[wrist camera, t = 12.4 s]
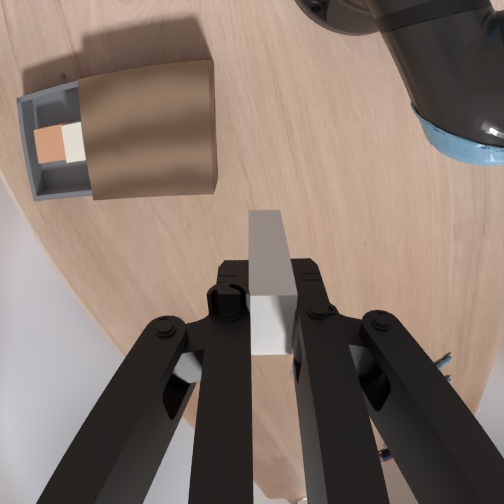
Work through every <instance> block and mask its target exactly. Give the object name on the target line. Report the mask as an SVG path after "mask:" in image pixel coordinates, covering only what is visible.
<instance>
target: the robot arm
mask: <svg viewBox="0 0 504 504" xmlns="http://www.w3.org/2000/svg"><path fill="white" fill-rule="evenodd" d="M295 2H296V3H297V5H298V6H299V8H300V9H301V10H302V11H303V12H304V13H305V14H306V15H307V16H308V17H309V18H310V19H311V20H313V21H314V22H315V23H317V24H318V25H320V26H322V27H324V28H326V29H328V30H330V31H333V32H336V33H340V34H344V35H352V36H360V35H368V34H371V33H375V32H378V31H380V32H381V35H382V37H383V39H384V41H385V43H386V45H387V47H388V49H389V51H390V53H391V55H392V57H393V60H394V62H395V64H396V66H397V68H398V71H399V73H400V75H401V77H402V80H403V82H404V85H405V87H406V89H407V92H408V94H409V97H410V99H411V106H412V109H413V111H414V113H415V114H416V116H417V117H418V118H419V120H420V123H421V125H422V128H423V130H424V133H425V135H426V138H427V139H428V141H429V142H430V143H431V144H432V145H433V146H434V147H435V148H436V149H437V150H438V151H439V152H441V153H442V154H444V155H446V156H448V157H450V158H452V159H455V160H457V161H461V162H464V163H469V164H475V165H486V166H494V165H503V164H504V10H502V11H495V10H494V9H493V7H492V4H491V2H490V0H295ZM217 276H218V277H217V283H216V285H214V286H213V287H211V288H210V289H209V291H208V293H207V301H208V310H209V315H208V316H206V317H205V318H203V319H201V320H199V321H196V322H192V323H187V324H185V322H184V321H183V320H181V319H180V318H178V317H175V316H162V317H158V318H156V319H154V320H152V321H151V322H150V323H149V324H148V325H147V326H146V328H145V329H144V331H143V332H142V334H141V335H140V337H139V338H138V340H137V341H136V342H135V344H134V345H133V347H132V348H131V350H130V351H129V353H128V355H127V356H126V358H125V359H124V361H123V362H122V364H121V365H120V367H119V368H118V370H117V371H116V373H115V374H114V376H113V377H112V379H111V380H110V382H109V384H108V385H107V387H106V388H105V390H104V391H103V393H102V394H101V396H100V398H99V399H98V401H97V402H96V404H95V406H94V407H93V409H92V410H91V412H90V413H89V415H88V417H87V418H86V420H85V422H84V423H83V425H82V426H81V428H80V430H79V431H78V433H77V435H76V436H75V438H74V440H73V441H72V443H71V444H70V446H69V448H68V449H67V451H66V453H65V454H64V456H63V458H62V460H61V461H60V463H59V465H58V466H57V468H56V470H55V471H54V473H53V475H52V477H51V478H50V480H49V482H48V483H47V485H46V487H45V489H44V491H43V492H42V494H41V496H40V498H39V500H38V501H37V503H36V504H143V502H144V499H145V497H146V495H147V493H148V491H149V488H150V486H151V484H152V482H153V479H154V477H155V475H156V473H157V470H158V468H159V466H160V464H161V461H162V459H163V457H164V455H165V453H166V450H167V448H168V446H169V444H170V441H171V439H172V437H173V435H174V432H175V430H176V428H177V426H178V423H179V421H180V419H181V417H182V414H183V412H184V410H185V408H186V406H187V403H188V401H189V399H190V397H191V394H192V392H193V390H194V388H195V385H196V382H197V381H201V382H200V390H199V399H198V408H197V417H196V426H195V435H194V445H193V456H192V466H191V476H190V488H189V500H188V504H253V446H252V381H251V355H277V354H292V347H293V354H294V358H293V366H292V373H291V378H294V382H295V390H296V398H297V407H298V416H299V425H300V434H301V443H302V452H303V462H304V472H305V482H306V492H307V502H308V504H390V503H389V498H388V494H387V489H386V484H385V480H384V475H383V471H382V466H381V462H380V458H379V454H378V450H377V445H376V441H375V437H374V433H373V430H372V426H371V422H370V418H371V419H372V421H373V423H374V425H375V426H376V428H377V430H378V432H379V433H380V435H381V437H382V439H383V440H384V442H385V444H386V446H387V448H388V449H389V451H390V453H391V455H392V456H393V458H394V460H395V462H396V464H397V465H398V467H399V469H400V471H401V473H402V474H403V476H404V478H405V480H406V482H407V483H408V485H409V487H410V489H411V491H412V492H413V494H414V496H415V498H416V500H417V501H418V503H419V504H504V458H503V457H502V455H501V454H500V452H499V451H498V450H497V448H496V447H495V445H494V444H493V442H492V441H491V439H490V438H489V436H488V435H487V434H486V432H485V431H484V429H483V428H482V426H481V425H480V424H479V422H478V421H477V420H476V418H475V417H474V415H473V414H472V413H471V411H470V410H469V409H468V407H467V406H466V404H465V403H464V402H463V400H462V399H461V398H460V396H459V395H458V394H457V392H456V391H455V390H454V389H453V387H452V386H451V385H450V383H449V382H448V381H447V379H446V378H445V377H444V376H443V374H442V373H441V372H440V370H439V369H438V368H437V367H436V365H435V364H434V363H433V362H432V360H431V359H430V358H429V356H428V355H427V354H426V353H425V352H424V350H423V349H422V348H421V347H420V345H419V344H418V343H417V342H416V340H415V339H414V338H413V337H412V336H411V334H410V333H409V332H408V331H407V329H406V328H405V327H404V326H403V325H402V323H401V322H400V321H399V320H398V319H397V318H396V317H395V316H394V315H393V314H391V313H389V312H386V311H382V310H372V311H370V312H367V313H366V314H365V315H364V316H363V318H362V320H361V319H356V318H350V317H346V316H343V315H341V314H339V312H338V310H337V309H336V307H335V306H334V305H332V304H331V303H330V302H329V299H328V296H327V293H326V290H325V287H324V283H323V281H322V277H321V274H320V271H319V268H318V265H317V264H316V263H315V262H314V261H313V260H312V259H311V258H306V259H290V255H289V250H288V245H287V241H286V236H285V231H284V227H283V222H282V218H281V213H280V210H249V260H225V261H224V262H223V263H222V264H221V265H220V266H219V268H218V275H217ZM369 416H370V418H369Z"/></svg>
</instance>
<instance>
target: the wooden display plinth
mask: <svg viewBox="0 0 504 504" xmlns="http://www.w3.org/2000/svg"><path fill="white" fill-rule="evenodd" d="M78 90H79V102H80V113H81V122H82V131H83V139H84V146H85V153H86V160H87V166H88V172H89V178H90V184H91V189H92V195H93V200H106V199H120V198H136V197H154V196H175V195H202V194H214V191H215V188H216V184H217V181H218V169H217V145H216V119H215V86H214V62H212V61H210V60H198V61H186V62H176V63H167V64H159V65H151V66H144V67H138V68H131V69H126V70H120V71H114V72H109V73H104V74H100V75H95V76H90V77H86V78H82V79H78Z"/></svg>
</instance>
